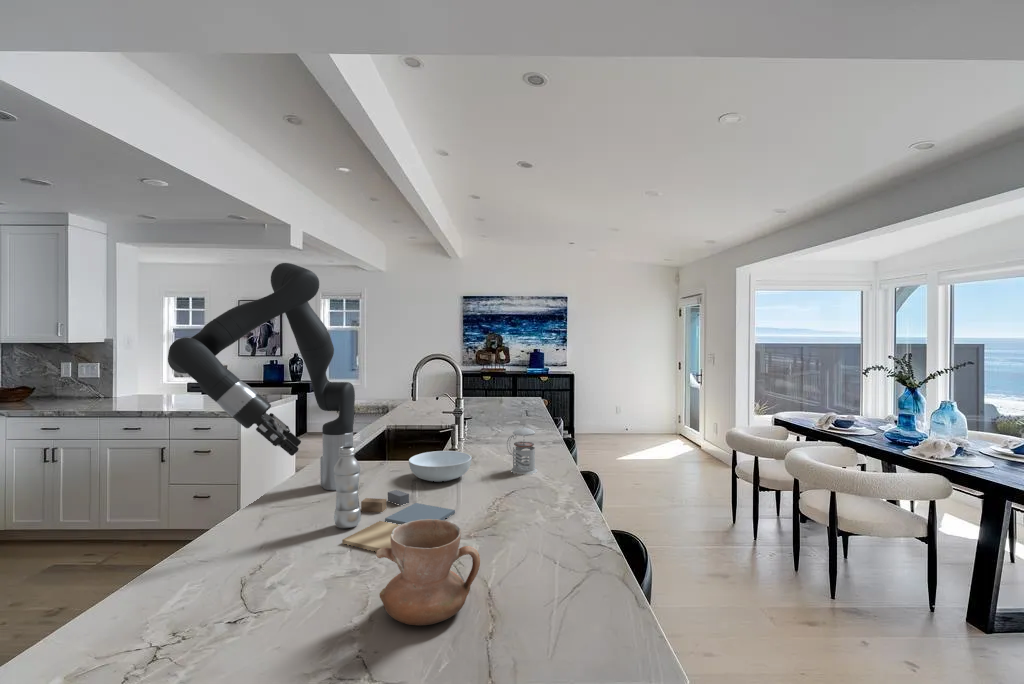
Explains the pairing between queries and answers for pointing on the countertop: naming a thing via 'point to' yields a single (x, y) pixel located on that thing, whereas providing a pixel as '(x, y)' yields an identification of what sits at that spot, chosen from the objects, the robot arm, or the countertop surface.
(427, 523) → the ceramic jug
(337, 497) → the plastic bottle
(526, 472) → the french press
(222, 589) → the countertop surface
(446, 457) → the serving bowl
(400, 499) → the charcoal brick
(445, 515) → the slate mat
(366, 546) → the oak mat
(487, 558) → the countertop surface
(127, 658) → the countertop surface
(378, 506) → the walnut brick
